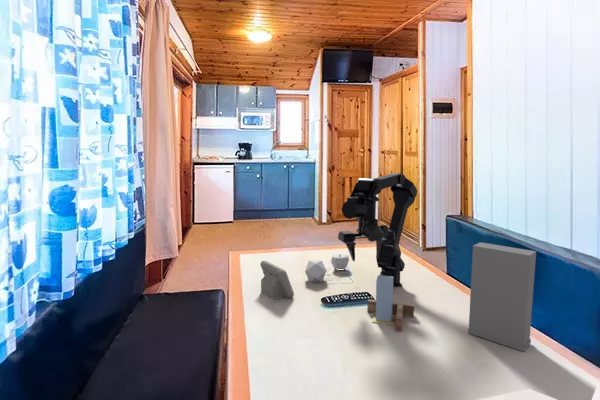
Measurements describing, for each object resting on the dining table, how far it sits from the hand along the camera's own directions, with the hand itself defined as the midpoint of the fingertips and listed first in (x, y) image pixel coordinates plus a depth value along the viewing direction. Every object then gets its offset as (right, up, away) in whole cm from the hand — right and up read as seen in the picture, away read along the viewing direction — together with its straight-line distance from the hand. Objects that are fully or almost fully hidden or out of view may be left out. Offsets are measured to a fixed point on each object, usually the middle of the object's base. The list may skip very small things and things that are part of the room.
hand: (365, 259), depth 129 cm
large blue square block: (+3, -15, -16) cm, 22 cm away
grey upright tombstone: (+31, -17, -28) cm, 45 cm away
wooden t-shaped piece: (+4, -15, -17) cm, 23 cm away
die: (-17, -11, +18) cm, 27 cm away
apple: (-6, -9, +31) cm, 33 cm away
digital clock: (-31, -13, +6) cm, 34 cm away
